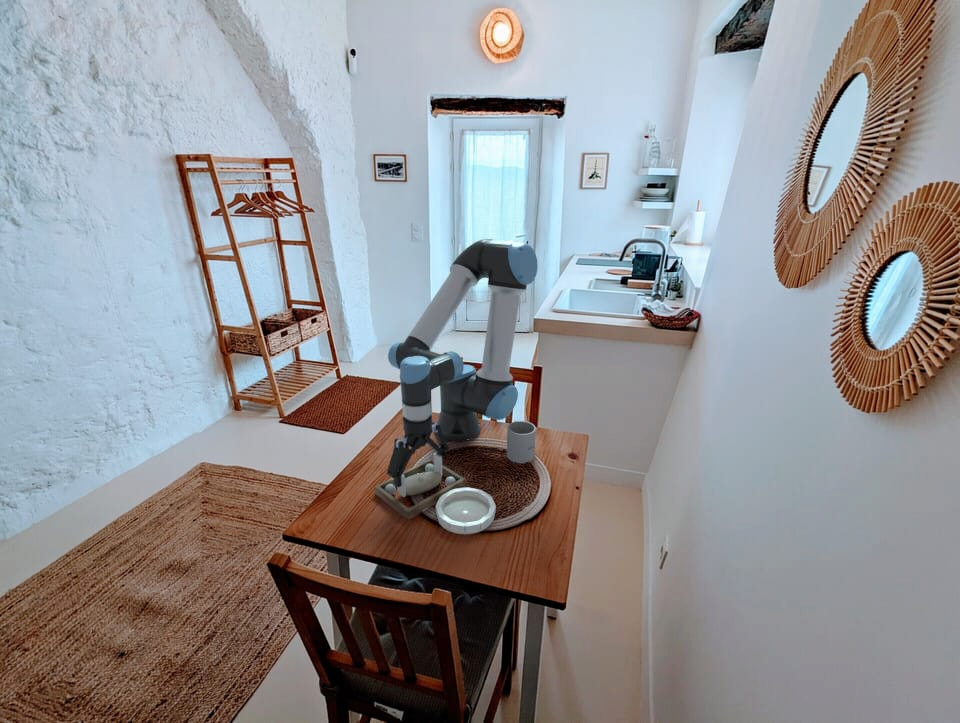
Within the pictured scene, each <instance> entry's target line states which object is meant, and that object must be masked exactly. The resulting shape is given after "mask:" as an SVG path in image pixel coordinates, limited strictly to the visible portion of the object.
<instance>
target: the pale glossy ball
mask: <svg viewBox="0 0 960 723" xmlns="http://www.w3.org/2000/svg"><path fill="white" fill-rule="evenodd" d="M433 471H434V465H433V464H427V465H426V466H425V471H424V472H433Z"/></svg>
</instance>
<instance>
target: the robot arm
mask: <svg viewBox="0 0 960 723" xmlns="http://www.w3.org/2000/svg"><path fill="white" fill-rule="evenodd" d="M537 258H538V256H537V254H536V253H535V250H534V248H533V247H532V246H531V245H530V244H528V243H525V242H522V241H521V242H519V241H517V240H516V241H512V240H503V239H502V240H501V239H493V238H484V239H480V240H477V241H474V243H472V244H470V245H469V246H467V247H466V248H464V250H463V251H462V252H461V253H459V254H458V256H457V257H456V258H455V260H454V261H453V262H452V264H451V265H450V266H449V272H450V273H449V274H448V276H447V277H446V279H445V280H444V282H443V284H442V285H441V286H440V288H439V289H438V291H437V292H436V293H435V295H434V297H433V298H432V300H431V302H430V303H429V304H428V305H427V307H426V308H425V310H424V312H423V313H422V315H421V316H420V318H419V319H418V321H417V322H416V324H415V325H414V327H413V328H412V330H411V331H410V332H409V334H408V336H407V337H406V338H405V340H404V342H402V341H401V342H400V341H398V342H396V343H394V344H392V345H391V347H389V350H388V354H387V359H388V362H389V364H390V366H392V367H393V368H396V369H398V370H399V379H400V380H399V381H400V392H401V405H402V406H401V407H402V416H403V417H402V422H403V423H402V424H403V425H402V426H403V428H402V429H403V431H404V436H403V438H401V439H398V438H395V439H394V441H393V442H394V443H393V444H394V447H393V450H392V453H391V454H392V455H391V458H390V462H389V464H388V468H387V470H386V474H387V475H388V476H389V477H390V478H394V482H395V485H396V486H395V487H396V488H397V489H396V492H397V494H399V495H400V496H401V497H403V498H405V497H406V496H407V495H406V490H405V476H404V475H403V472H404V471H406V468H407V466H408V463H409V461H410V460H411V458H412V455H413V454H415V453H416V450H418V449H420V448H421V447H425V446H426V445H427V446H429V447H430V448H431V449H432V450H433V451H434V453H433V459H434V472H438V473H439V474H440V475H441V477H443V475H442V465H443V464H444V462H445V461H444V460H445V459H444V457H446V456H447V451H449V450H450V446H449V445H448V442H447V441H449V442H450V441H451V442H464V441H463V440H466V441H468V440H467V439H470V440H472V439H471V438H473V439H475V438H476V437H478V436H479V435H480V433H481V422H480V420H479V416H478V414H479V415H482V416H485V418H488V419H494V420H495V421H496V420H497V421H501V420H504V419H505V418H507V417H508V416H509V415H510V414H511V413H512V411H513V410H514V409H515V407H516V404H517V402H518V400H519V399H518V398H519V392H518V388H517V387H516V386H515V385H513V379H514V377H513V375H512V374H511V373H510V367H511V359H512V353H513V346H514V341H515V340H514V339H515V333H516V326H517V319H518V312H519V305H520V299H521V295H522V294H523V293H525V292H526V291H527V287H528V285H531V284H532V283H533V282H534V280H535V278H536V276H537V273H538V265H539V264H538V259H537ZM481 279H487V287H488V288H489V289H490V291H491V295H490V296H491V297H490V302H489V303H490V304H489V310H488V317H487V326H486V333H485V340H484V349H483V356H482V363H481V368H479V369H478V370H476V368H475V366H473V365H470V364H464V361H463V359H462V357H461V356H460V355H459V353H457V352H455V351H445V352H443V353H438V352H434V351H431V349H432V348H433V346H434V345H435V344H436V342H437V340H438V339H439V337H440V335H441V334H442V332H443V331H444V329H445V328H446V326H447V325H448V324H449V321H450V320H451V318H452V317H453V316H454V314H455V313H456V311H457V310H458V309H459V308H458V307H459V306H460V305H461V303H462V301H463V300H464V298H465V297H466V295H467V294H468V292H469V291H470V289H471V288H472V287H475V286H477V285H478V283H479V282H480V280H481ZM436 388H439V391H440V394H439V396H440V412H439V415H438V420H437V422H434V421H433V415H432V414H433V408H432V406H433V405H432V390H434V389H436ZM432 433H433V435H434V438H435V439H436V440H437V442H438V444H437V443H436V442H435V441H434V440H433V439H432V438H431V435H432ZM474 437H475V438H474ZM409 447H410V448H409Z"/></svg>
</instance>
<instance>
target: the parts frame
mask: <svg viewBox="0 0 960 723" xmlns="http://www.w3.org/2000/svg"><path fill="white" fill-rule="evenodd" d="M427 464H433V465H434V458H433V457H430V458H427V459H425V460H424V461H422V462H420V463H418V464H416V465H414V466H412V467H410V468H408V469H405V470H404V472H403V475H404V476H405V478H407V477H409V476H412V475H415V474H417V473H420V472H421V473H423V472H425V466H426V465H427ZM422 471H423V472H422ZM442 475H443V476H444V477H445V478H447V477H450V476H451V477H454V478H455V480H456V482H454V483H452V484H451V485H449V486H445V487H444V488H442V489H440V490H439V491H437V492H435V493H433V494H432V495H430V496H428V497H426V498H425V499H423V500H422V501H419V502H418V503H416V504H415V505H413V506H410V507H409V508H408V507H407V506H406V505H405V504H403V503H402V502H400V501H399V499H397V498H396V497H394V496H393V495H390V494H389V493H388V492H386V491H385V487H386V486H387V485H388V484H393V485H394V486H395V487H397V486H396V485H395V482H394V478H392V477H390V478H389V479H386V480H385V481H382V482H380V483H379V484H377V485H374V495H375V496H377V497H378V498H380V500H382V501H383V502H385V503H386V504H387V505H388V506H390V507H391V509H393V510H395V511H396V512H398V513H399V514H400V515H401V516H402V517H404V518H405V519H406V520H407V521H410V520H412V519H413V518H416V517H417V516H419V515H420V514H422V513H423V512H424V511H423V510H424V509H426V508H428V507H430V508H432V507H433V506H436V504H437V502H438V500H439V498H440V497H441V496H442V495H443V494H445V493H447V492H449V491H450V490H453V489H458V488H465V487H466V478H465V477H463V476H461V475H460V474H458V473H456V472H455V471H453V470H452V469H450V468H449V467H447V466H446V465H443V464H442ZM443 476H442V477H443ZM431 506H432V507H431ZM428 509H429V508H428ZM422 511H423V512H422ZM421 512H422V513H421Z"/></svg>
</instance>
